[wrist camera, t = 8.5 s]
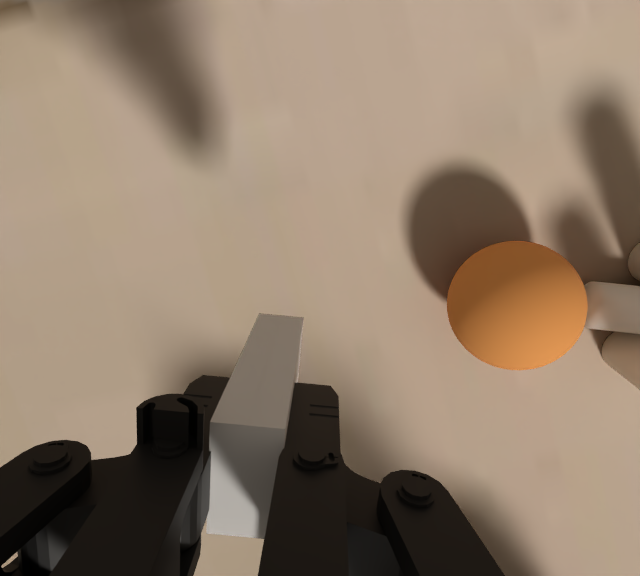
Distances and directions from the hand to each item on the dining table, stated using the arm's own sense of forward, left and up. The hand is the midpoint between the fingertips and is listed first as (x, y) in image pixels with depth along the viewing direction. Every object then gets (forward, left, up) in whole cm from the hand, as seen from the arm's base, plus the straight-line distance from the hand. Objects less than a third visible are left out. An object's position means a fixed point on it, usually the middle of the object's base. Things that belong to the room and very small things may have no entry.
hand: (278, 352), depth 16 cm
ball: (+10, +1, -6) cm, 12 cm away
